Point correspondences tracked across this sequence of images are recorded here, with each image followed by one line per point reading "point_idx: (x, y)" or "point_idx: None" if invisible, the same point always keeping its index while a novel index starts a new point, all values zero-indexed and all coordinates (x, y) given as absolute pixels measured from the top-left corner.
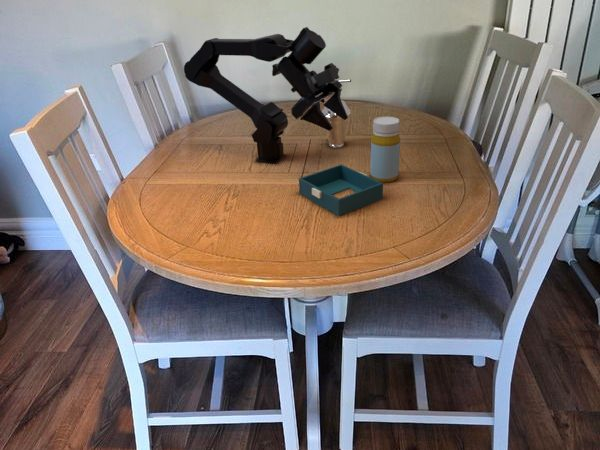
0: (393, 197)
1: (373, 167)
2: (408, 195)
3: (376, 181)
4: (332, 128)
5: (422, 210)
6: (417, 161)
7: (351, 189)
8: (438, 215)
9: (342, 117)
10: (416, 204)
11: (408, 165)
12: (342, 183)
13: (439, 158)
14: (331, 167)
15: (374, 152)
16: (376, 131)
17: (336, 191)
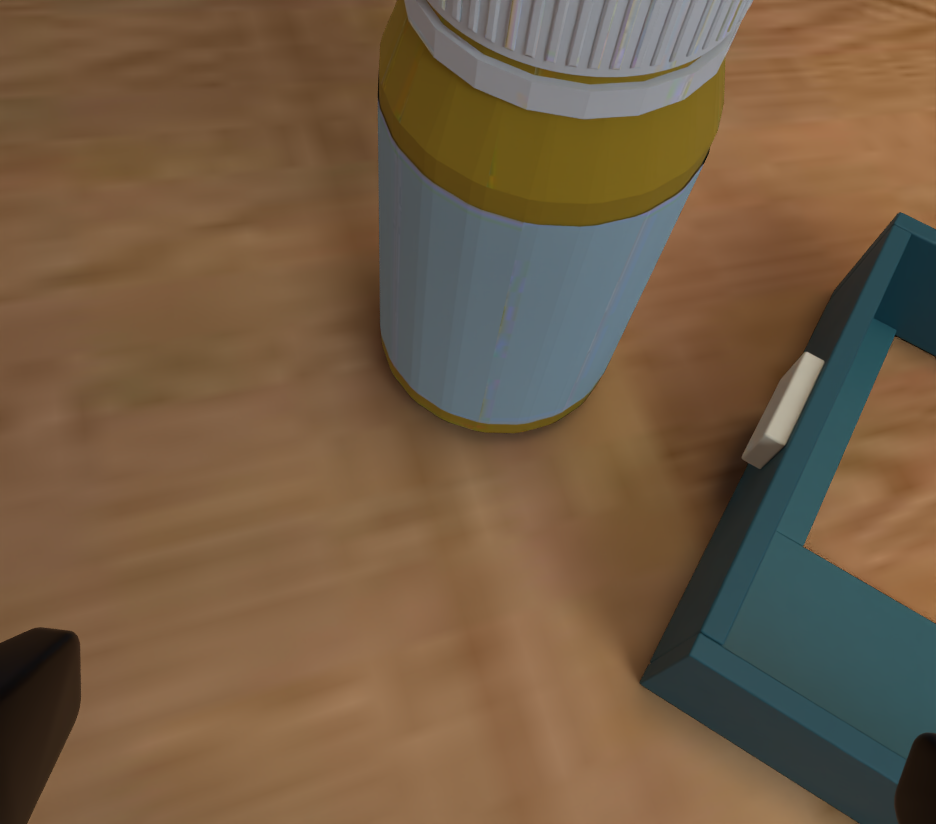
0: (779, 236)
1: (614, 340)
2: (709, 165)
3: (898, 256)
4: (919, 736)
5: (852, 89)
6: (101, 174)
7: (811, 524)
8: (862, 28)
9: (39, 778)
10: (801, 119)
11: (198, 220)
12: (758, 628)
13: (22, 56)
14: (823, 738)
15: (665, 237)
16: (731, 25)
17: (927, 628)
